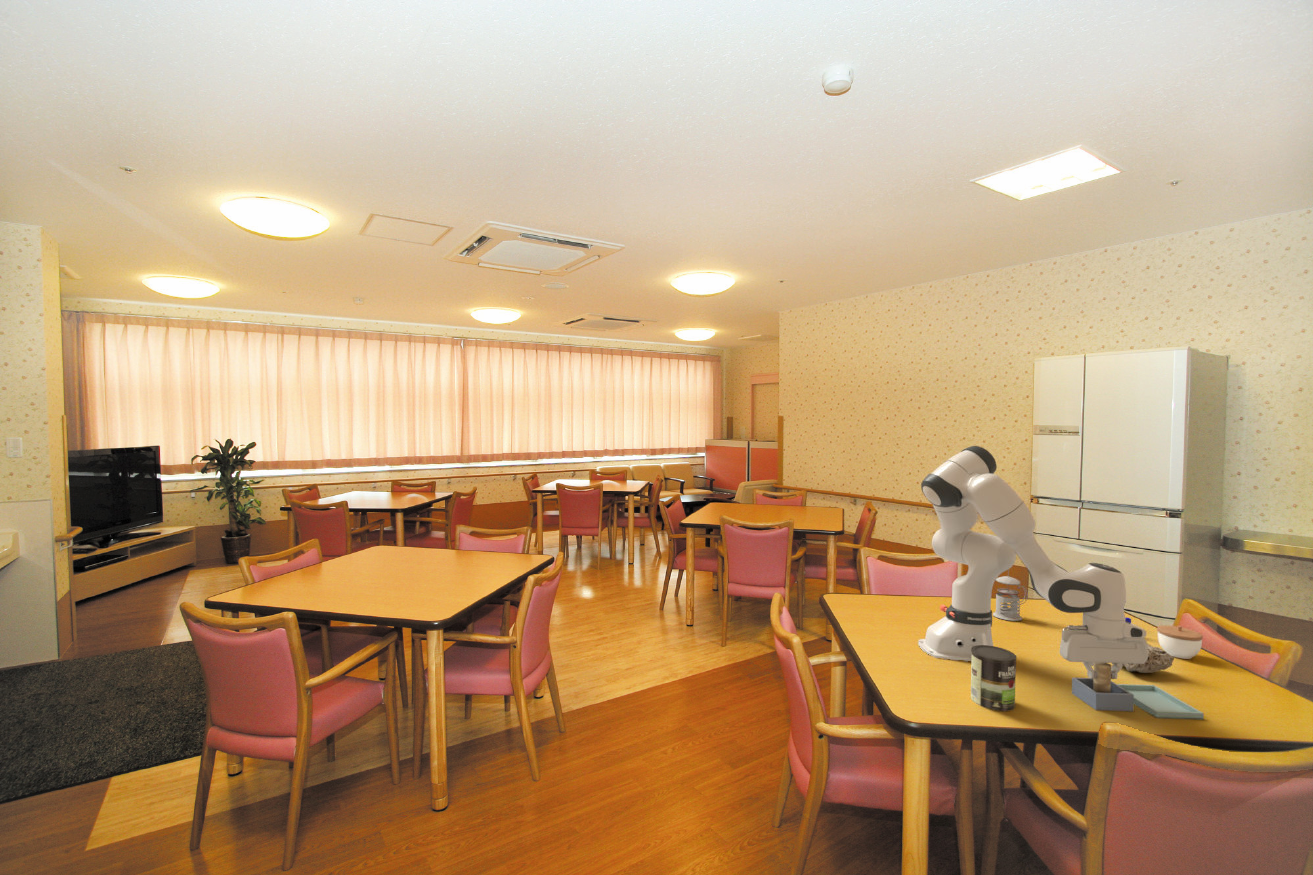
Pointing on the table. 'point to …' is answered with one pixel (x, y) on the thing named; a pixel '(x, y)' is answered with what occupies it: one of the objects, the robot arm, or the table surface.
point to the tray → (1161, 703)
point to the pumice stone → (1152, 661)
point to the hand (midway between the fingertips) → (1102, 677)
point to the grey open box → (1102, 696)
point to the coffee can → (993, 677)
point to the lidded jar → (1179, 641)
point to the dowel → (1102, 678)
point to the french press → (1008, 600)
